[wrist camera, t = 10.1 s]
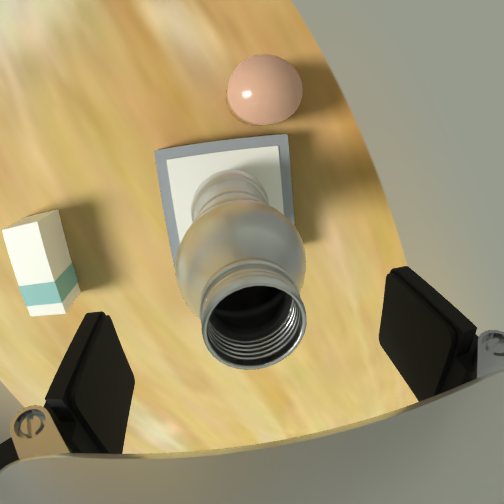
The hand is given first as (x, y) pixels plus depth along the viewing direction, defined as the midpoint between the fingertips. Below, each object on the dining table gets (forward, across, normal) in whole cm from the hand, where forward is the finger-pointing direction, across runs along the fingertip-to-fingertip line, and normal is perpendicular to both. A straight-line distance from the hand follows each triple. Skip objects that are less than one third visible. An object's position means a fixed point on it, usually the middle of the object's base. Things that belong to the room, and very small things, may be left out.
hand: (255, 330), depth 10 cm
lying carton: (+24, +21, +4) cm, 32 cm away
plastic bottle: (+21, 0, +1) cm, 21 cm away
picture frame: (+24, 0, +1) cm, 24 cm away
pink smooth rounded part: (+24, -4, -9) cm, 26 cm away
